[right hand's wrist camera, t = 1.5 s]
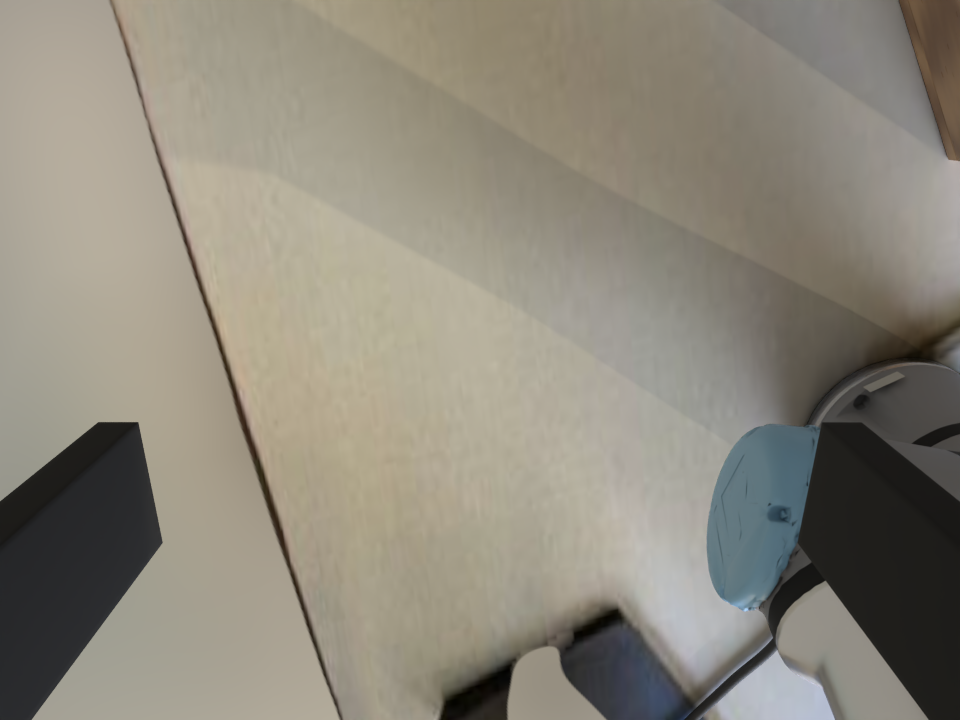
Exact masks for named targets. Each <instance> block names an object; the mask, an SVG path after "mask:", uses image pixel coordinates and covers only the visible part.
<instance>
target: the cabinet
mask: <svg viewBox="0 0 960 720" xmlns="http://www.w3.org/2000/svg"><path fill="white" fill-rule="evenodd" d="M899 2H900V5H901V9H902V12H903V15H904V18H905V21H906V25H907V28H908V31H909V34H910V37H911V41H912V44H913V47H914V50H915V54H916V57H917V60H918V63H919V66H920V70H921V73H922V76H923V79H924V83H925V86H926V89H927V92H928V95H929V99H930V102H931V105H932V108H933V112H934V115H935V118H936V121H937V124H938V128H939V131H940V134H941V137H942V140H943V144H944V147H945V150H946V153H947V157H948V159H949V160H955V161H960V0H899Z"/></svg>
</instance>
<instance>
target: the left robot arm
mask: <svg viewBox="0 0 960 720" xmlns="http://www.w3.org/2000/svg"><path fill="white" fill-rule="evenodd" d="M822 422H862V423H863V424H864V425H866V426H867V427H868V428H869V429H871V430H872V431H873V432H874V433H876V434H877V435H878V436H879V437H880V438H882V439H883V440H884V441H885V442H887V443H888V444H889V445H890V446H892V447H893V448H894V449H895V450H897V451H898V452H899V453H900V454H902V455H903V456H904V457H905V458H907V459H908V460H909V461H910V462H911V463H913V464H914V465H915V466H916V467H918V468H919V469H920V470H921V471H923V472H924V473H925V474H926V475H928V476H929V477H930V478H931V479H933V480H934V481H935V482H936V483H938V484H939V485H940V486H941V487H942V488H944V489H945V490H946V491H947V492H949V493H950V494H951V495H952V496H954V497H955V498H956V499H957V500H959V501H960V373H958V372H956V371H954V370H952V369H951V368H949V367H947V366H945V365H943V364H940V363H937V362H935V361H931V360H927V359H920V358H898V359H891V360H886V361H882V362H879V363H876V364H872V365H870V366H868V367H865V368H863V369H861V370H859V371H857V372H855V373H853V374H852V375H850V376H848V377H847V378H845V379H844V380H843V381H841V382H840V383H839V384H837V385H836V386H835V387H834V388H833V389H832V390H831V391H830V392H829V393H828V394H827V395H826V396H825V397H824V398H823V399H822V400H821V402H820V403H819V404H818V406H817V407H816V409H815V410H814V412H813V414H812V415H811V417H810V419H809V421H808V424H807V426H804V427H800V426H789V425H779V424H768V425H765V426H761V427H757V428H754V429H752V430H751V431H749V432H747V433H746V434H745V435H744V436H743V437H742V438H741V439H740V440H739V441H738V442H737V443H736V444H735V446H734V447H733V449H732V450H731V452H730V453H729V455H728V457H727V459H726V461H725V463H724V465H723V467H722V469H721V472H720V474H719V477H718V480H717V483H716V486H715V489H714V493H713V497H712V502H711V508H710V512H709V519H708V528H707V558H708V567H709V573H710V577H711V580H712V583H713V586H714V588H715V590H716V592H717V593H718V595H719V596H720V597H721V598H722V599H723V600H724V601H726V602H729V603H730V604H731V605H733V606H736V607H738V608H739V609H741V610H742V611H748V610H760V611H761V612H762V613H763V614H764V615H765V617H766V619H767V622H768V625H769V627H770V630H771V633H772V636H773V639H772V640H771V641H770V642H769V643H768V644H767V645H766V646H765V647H764V648H763V649H762V650H761V651H760V652H759V653H758V654H757V655H755V656H754V657H753V658H752V659H751V660H749V661H748V662H747V663H746V664H744V665H743V666H742V667H741V668H739V669H738V670H737V671H736V672H735V673H733V674H732V675H731V676H730V677H729V678H728V679H727V680H726V681H725V682H724V683H722V684H721V685H720V686H719V687H718V688H717V689H716V690H715V691H714V692H713V693H712V694H711V695H710V696H709V697H708V698H706V699H705V700H704V701H703V702H702V703H701V704H700V705H699V706H698V707H697V708H696V709H695V710H694V711H693V712H692V713H690V714H689V715H688V716H687V717H686V718H685V719H684V720H699V719H700V718H701V717H702V716H703V715H705V714H706V713H707V712H708V711H709V710H710V709H711V708H712V707H713V706H714V705H715V704H716V703H718V702H719V701H720V700H721V699H722V698H723V697H724V696H725V695H726V694H727V693H728V692H729V691H730V690H732V689H733V688H734V687H735V686H736V685H737V684H738V683H739V682H741V681H742V680H743V679H744V678H745V677H747V676H748V675H749V674H750V673H752V672H753V671H754V670H755V669H757V668H758V667H759V666H760V665H762V664H763V663H764V662H765V661H766V660H767V659H769V658H770V657H771V656H772V655H773V654H774V653H775V652H776V651H777V650H778V652H779V654H780V656H781V658H782V660H783V661H784V663H785V664H786V666H787V667H788V668H789V669H790V670H791V671H792V672H794V673H795V674H796V675H798V676H799V677H801V678H803V679H805V680H806V681H808V682H811V683H813V684H815V685H817V686H819V687H821V688H823V690H824V693H825V695H826V698H827V700H828V703H829V705H830V708H831V710H832V713H833V715H834V718H835V720H928V718H927V717H926V716H925V714H924V713H923V712H922V710H921V709H920V708H919V706H918V705H917V703H916V702H915V701H914V699H913V698H912V697H911V695H910V694H909V693H908V691H907V690H906V689H905V687H904V686H903V685H902V683H901V682H900V681H899V679H898V678H897V676H896V675H895V674H894V672H893V671H892V670H891V668H890V667H889V666H888V664H887V663H886V662H885V660H884V659H883V658H882V656H881V655H880V654H879V652H878V651H877V649H876V648H875V647H874V645H873V644H872V643H871V641H870V640H869V639H868V637H867V636H866V635H865V633H864V632H863V631H862V629H861V628H860V627H859V625H858V624H857V623H856V621H855V620H854V618H853V617H852V616H851V614H850V613H849V612H848V610H847V609H846V608H845V606H844V605H843V604H842V602H841V601H840V600H839V598H838V597H837V596H836V594H835V593H834V591H833V590H832V589H831V587H830V586H829V585H828V583H827V582H826V581H825V579H824V578H823V577H822V575H821V574H820V573H819V571H818V570H817V569H816V567H815V566H814V564H813V563H812V562H811V560H810V559H809V558H808V556H807V555H806V554H805V552H804V551H803V550H802V548H801V547H800V546H799V544H798V543H797V542H798V537H799V532H800V527H801V522H802V517H803V513H804V508H805V503H806V498H807V493H808V488H809V483H810V478H811V473H812V468H813V463H814V458H815V453H816V448H817V443H818V439H819V434H820V429H821V424H822Z"/></svg>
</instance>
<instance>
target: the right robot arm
mask: <svg viewBox="0 0 960 720" xmlns="http://www.w3.org/2000/svg"><path fill="white" fill-rule="evenodd" d="M797 543H798V544H799V546H800V547H801V548H802V550H803V551H804V552H805V554H806V555H807V556H808V558H809V559H810V560H811V562H812V563H813V564H814V566H815V567H816V569H817V570H818V571H819V573H820V574H821V575H822V577H823V578H824V579H825V581H826V582H827V583H828V585H829V586H830V587H831V589H832V590H833V591H834V593H835V594H836V596H837V597H838V598H839V600H840V601H841V602H842V604H843V605H844V606H845V608H846V609H847V610H848V612H849V613H850V614H851V616H852V617H853V618H854V620H855V621H856V623H857V624H858V625H859V627H860V628H861V629H862V631H863V632H864V633H865V635H866V636H867V637H868V639H869V640H870V641H871V643H872V644H873V645H874V647H875V648H876V649H877V651H878V652H879V654H880V655H881V656H882V658H883V659H884V660H885V662H886V663H887V664H888V666H889V667H890V668H891V670H892V671H893V672H894V674H895V675H896V676H897V678H898V679H899V681H900V682H901V683H902V685H903V686H904V687H905V689H906V690H907V691H908V693H909V694H910V695H911V697H912V698H913V699H914V701H915V702H916V703H917V705H918V706H919V708H920V709H921V710H922V712H923V713H924V714H925V716H926V717H927V718H928V720H960V501H959V500H957V499H956V498H955V497H954V496H952V495H951V494H950V493H949V492H947V491H946V490H945V489H944V488H942V487H941V486H940V485H939V484H938V483H936V482H935V481H934V480H933V479H931V478H930V477H929V476H928V475H926V474H925V473H924V472H923V471H921V470H920V469H919V468H918V467H916V466H915V465H914V464H913V463H911V462H910V461H909V460H908V459H907V458H905V457H904V456H903V455H902V454H900V453H899V452H898V451H897V450H895V449H894V448H893V447H892V446H890V445H889V444H888V443H887V442H885V441H884V440H883V439H882V438H880V437H879V436H878V435H877V434H876V433H874V432H873V431H872V430H871V429H869V428H868V427H867V426H866V425H864V424H863V423H862V422H822V424H821V429H820V434H819V439H818V443H817V448H816V453H815V458H814V463H813V468H812V473H811V478H810V483H809V488H808V493H807V498H806V503H805V508H804V513H803V517H802V522H801V527H800V532H799V537H798V542H797ZM161 544H162V537H161V533H160V527H159V523H158V517H157V513H156V508H155V503H154V498H153V493H152V488H151V483H150V478H149V473H148V468H147V463H146V458H145V453H144V448H143V443H142V439H141V434H140V429H139V424H138V422H98V423H97V424H96V425H94V426H93V427H92V428H91V429H89V430H88V431H87V432H86V433H84V434H83V435H82V436H81V437H80V438H78V439H77V440H76V441H75V442H73V443H72V444H71V445H70V446H68V447H67V448H66V449H65V450H63V451H62V452H61V453H60V454H58V455H57V456H56V457H55V458H53V459H52V460H51V461H50V462H49V463H47V464H46V465H45V466H44V467H42V468H41V469H40V470H39V471H37V472H36V473H35V474H34V475H32V476H31V477H30V478H29V479H27V480H26V481H25V482H24V483H22V484H21V485H20V486H19V487H18V488H16V489H15V490H14V491H13V492H11V493H10V494H9V495H8V496H6V497H5V498H4V499H3V500H1V501H0V720H32V718H33V717H34V716H35V714H36V713H37V712H38V710H39V709H40V707H41V706H42V705H43V703H44V702H45V701H46V699H47V698H48V697H49V695H50V694H51V693H52V691H53V690H54V689H55V687H56V686H57V684H58V683H59V682H60V680H61V679H62V678H63V676H64V675H65V674H66V672H67V671H68V670H69V668H70V667H71V666H72V664H73V663H74V662H75V660H76V659H77V658H78V656H79V655H80V653H81V652H82V651H83V649H84V648H85V647H86V645H87V644H88V643H89V641H90V640H91V639H92V637H93V636H94V635H95V633H96V632H97V630H98V629H99V628H100V627H101V625H102V624H103V622H104V621H105V620H106V618H107V617H108V616H109V614H110V613H111V612H112V610H113V609H114V608H115V606H116V605H117V604H118V602H119V601H120V600H121V598H122V597H123V596H124V594H125V593H126V591H127V590H128V589H129V587H130V586H131V585H132V583H133V582H134V581H135V579H136V578H137V577H138V575H139V574H140V573H141V571H142V570H143V569H144V567H145V566H146V564H147V563H148V562H149V560H150V559H151V558H152V556H153V555H154V554H155V552H156V551H157V550H158V548H159V547H160V546H161Z"/></svg>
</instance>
